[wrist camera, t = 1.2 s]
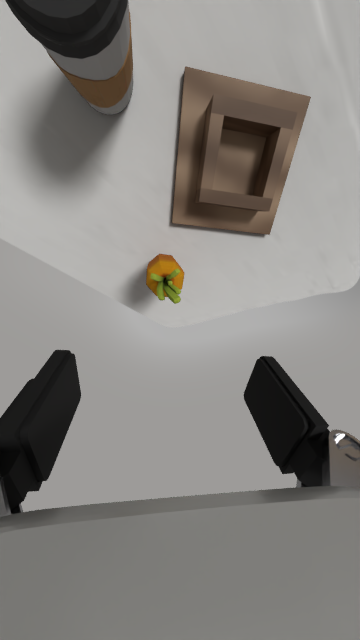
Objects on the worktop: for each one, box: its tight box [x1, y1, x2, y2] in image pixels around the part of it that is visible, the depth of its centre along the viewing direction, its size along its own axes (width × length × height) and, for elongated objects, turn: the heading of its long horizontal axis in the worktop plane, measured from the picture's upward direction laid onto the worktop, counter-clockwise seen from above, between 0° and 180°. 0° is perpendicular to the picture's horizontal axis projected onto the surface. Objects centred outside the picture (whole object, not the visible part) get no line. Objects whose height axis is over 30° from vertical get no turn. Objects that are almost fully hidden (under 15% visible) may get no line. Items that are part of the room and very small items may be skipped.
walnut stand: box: [172, 67, 311, 235], centre depth 26 cm, size 16×16×4 cm
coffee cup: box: [6, 0, 133, 115], centre depth 16 cm, size 8×8×15 cm
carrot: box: [146, 254, 184, 304], centre depth 27 cm, size 5×5×15 cm
